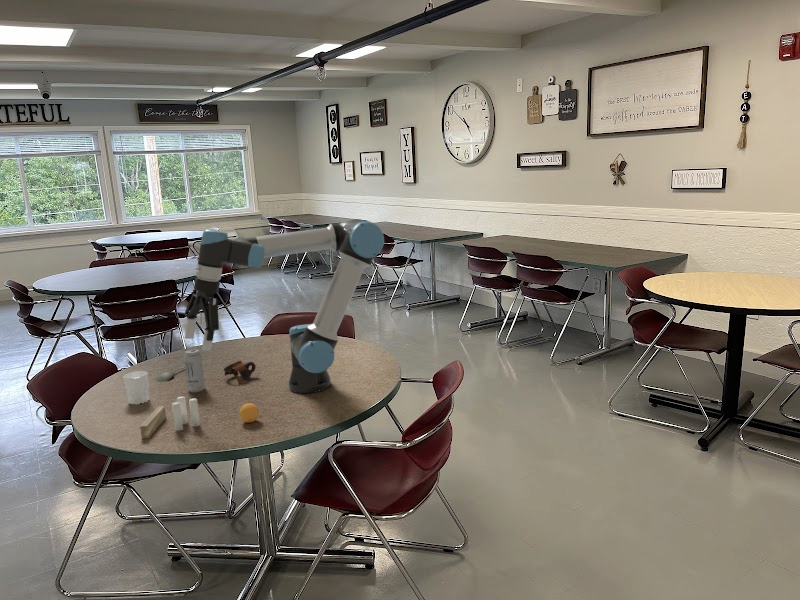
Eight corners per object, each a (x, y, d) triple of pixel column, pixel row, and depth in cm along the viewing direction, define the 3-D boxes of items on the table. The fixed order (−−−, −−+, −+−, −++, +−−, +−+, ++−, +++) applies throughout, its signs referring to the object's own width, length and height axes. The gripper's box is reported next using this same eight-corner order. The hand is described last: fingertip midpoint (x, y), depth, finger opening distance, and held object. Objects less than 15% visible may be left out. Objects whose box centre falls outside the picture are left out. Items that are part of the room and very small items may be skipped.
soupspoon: (151, 384, 236) (165, 386, 234) (150, 375, 235) (164, 378, 233) (189, 364, 256) (202, 366, 253) (188, 357, 255) (201, 359, 252)
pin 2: (184, 427, 189) (181, 401, 188) (181, 430, 187) (178, 404, 185) (176, 427, 189) (173, 402, 188) (174, 431, 187) (170, 405, 185)
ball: (261, 417, 195) (259, 399, 193) (257, 425, 189) (256, 407, 187) (242, 418, 194) (240, 401, 193) (238, 426, 188) (236, 408, 187)
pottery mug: (232, 387, 226) (222, 367, 227) (230, 390, 235) (220, 371, 235) (261, 372, 231) (251, 353, 232) (258, 376, 240) (248, 358, 241)
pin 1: (188, 421, 194) (185, 396, 193) (186, 424, 192) (183, 398, 190) (181, 421, 194) (178, 396, 193) (179, 424, 192) (175, 399, 190)
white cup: (136, 406, 209) (132, 379, 207) (122, 403, 213) (118, 376, 211) (155, 399, 216) (152, 372, 213) (142, 395, 220) (138, 369, 218)
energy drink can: (184, 392, 221) (179, 353, 218) (195, 386, 227) (190, 348, 224) (198, 393, 219) (193, 354, 216) (208, 388, 224) (204, 349, 221)
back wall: (166, 417, 198) (164, 405, 197) (148, 438, 183) (146, 425, 182) (159, 417, 198) (158, 406, 197) (141, 438, 183) (140, 426, 182)
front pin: (200, 423, 192) (197, 398, 190) (198, 426, 190) (195, 400, 188) (193, 423, 192) (190, 398, 190) (191, 426, 190) (187, 401, 188)
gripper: (180, 270, 196) (171, 333, 199) (213, 286, 178) (202, 355, 181) (202, 272, 201) (192, 334, 204) (237, 288, 183) (225, 355, 186)
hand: (197, 344), depth 192 cm, fingers open, 13 cm apart
